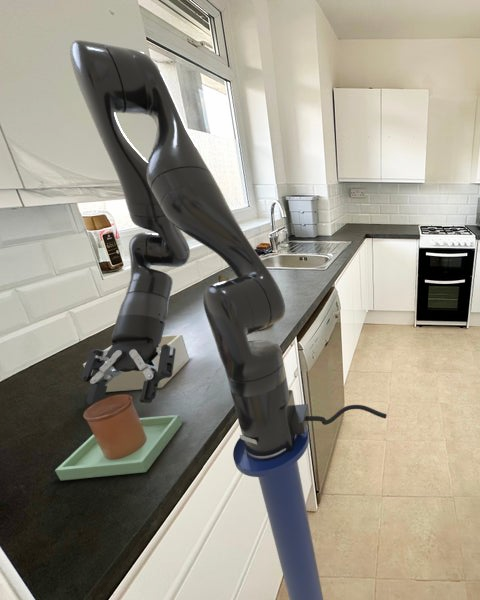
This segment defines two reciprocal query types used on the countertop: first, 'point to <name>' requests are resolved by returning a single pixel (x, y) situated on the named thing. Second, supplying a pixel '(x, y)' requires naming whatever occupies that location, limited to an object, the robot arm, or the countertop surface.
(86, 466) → the shallow green tray
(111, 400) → the terracotta pot
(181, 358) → the cream storage bin
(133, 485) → the countertop surface
